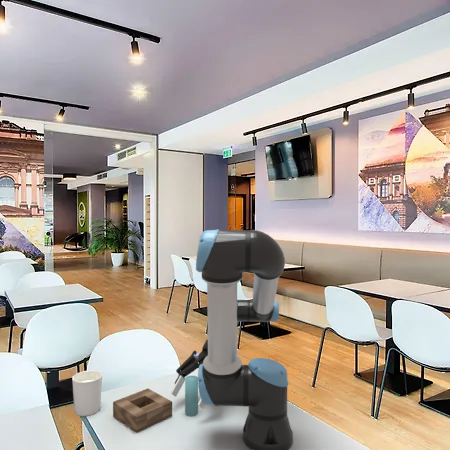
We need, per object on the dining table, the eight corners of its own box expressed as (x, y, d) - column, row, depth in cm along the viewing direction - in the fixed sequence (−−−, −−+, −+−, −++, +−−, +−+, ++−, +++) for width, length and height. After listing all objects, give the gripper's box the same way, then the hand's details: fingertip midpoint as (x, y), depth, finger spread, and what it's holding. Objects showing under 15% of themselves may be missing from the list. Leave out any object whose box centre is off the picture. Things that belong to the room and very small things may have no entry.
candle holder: (92, 419, 128) (92, 383, 128) (66, 415, 130) (66, 380, 130) (107, 404, 138) (107, 371, 138) (82, 401, 140) (82, 369, 139)
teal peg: (200, 412, 133) (200, 378, 132) (190, 417, 130) (191, 382, 129) (192, 408, 136) (192, 374, 135) (182, 412, 133) (182, 378, 132)
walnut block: (172, 416, 130) (172, 401, 130) (136, 433, 120) (136, 417, 120) (147, 401, 140) (147, 388, 140) (113, 416, 130) (113, 401, 130)
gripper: (247, 356, 137) (219, 417, 125) (196, 342, 152) (167, 394, 140) (238, 346, 132) (208, 407, 121) (187, 331, 147) (156, 385, 136)
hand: (186, 400), depth 131 cm, fingers open, 12 cm apart
